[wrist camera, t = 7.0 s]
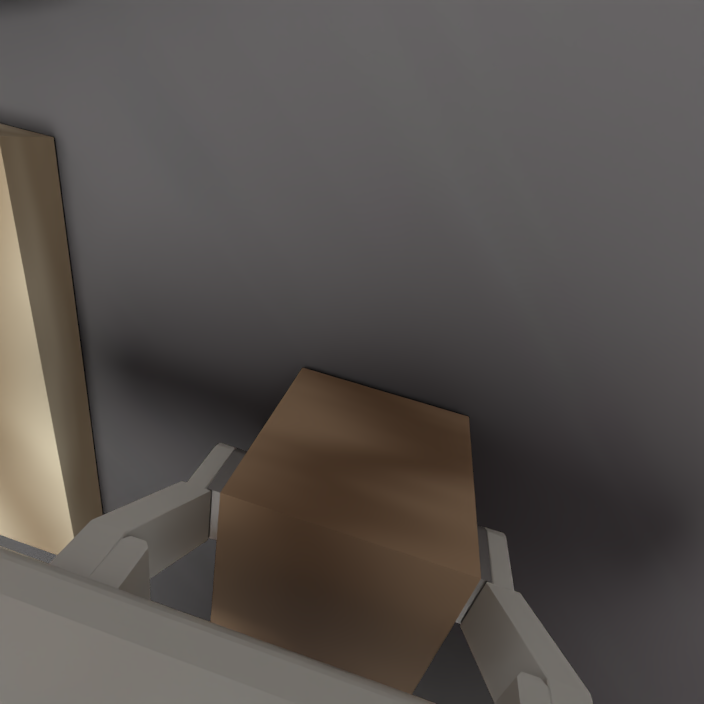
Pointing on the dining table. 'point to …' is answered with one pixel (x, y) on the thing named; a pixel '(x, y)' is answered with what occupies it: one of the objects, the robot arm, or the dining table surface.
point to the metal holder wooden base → (40, 357)
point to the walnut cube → (350, 530)
